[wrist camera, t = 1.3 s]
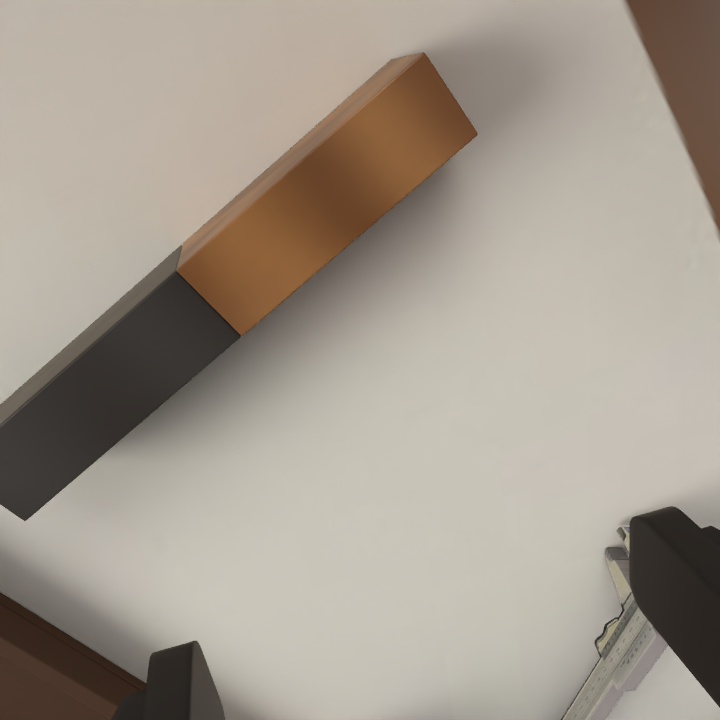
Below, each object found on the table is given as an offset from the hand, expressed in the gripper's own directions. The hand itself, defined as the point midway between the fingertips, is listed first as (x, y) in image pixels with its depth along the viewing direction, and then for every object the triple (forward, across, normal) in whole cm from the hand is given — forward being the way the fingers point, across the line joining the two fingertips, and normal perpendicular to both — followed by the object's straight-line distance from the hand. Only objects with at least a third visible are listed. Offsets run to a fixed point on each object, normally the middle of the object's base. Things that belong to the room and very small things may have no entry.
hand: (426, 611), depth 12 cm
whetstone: (+16, +3, -3) cm, 16 cm away
